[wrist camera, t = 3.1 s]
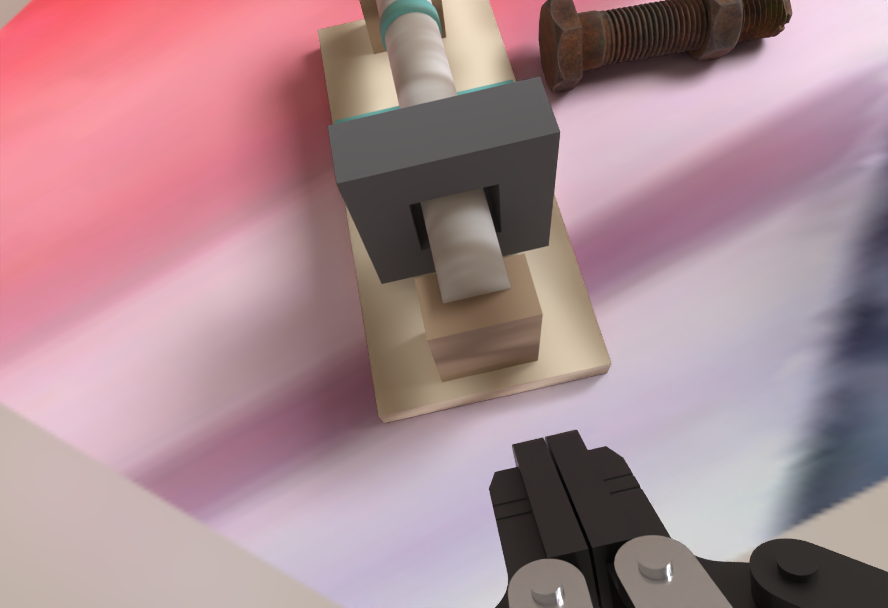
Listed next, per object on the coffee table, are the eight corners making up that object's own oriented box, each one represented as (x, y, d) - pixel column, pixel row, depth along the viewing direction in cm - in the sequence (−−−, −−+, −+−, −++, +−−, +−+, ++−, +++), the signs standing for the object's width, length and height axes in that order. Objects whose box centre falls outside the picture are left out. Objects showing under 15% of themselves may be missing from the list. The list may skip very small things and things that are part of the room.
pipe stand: (486, 8, 44) (479, -125, 36) (607, 372, 32) (639, 300, 24) (323, 46, 44) (279, -77, 36) (384, 423, 32) (338, 368, 24)
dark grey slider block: (533, 199, 33) (539, 76, 25) (548, 245, 32) (560, 131, 24) (373, 236, 33) (327, 125, 25) (381, 284, 32) (336, 183, 24)
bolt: (762, 62, 42) (545, 99, 42) (752, -14, 41) (533, 24, 41) (814, 32, 36) (562, 75, 36) (804, -57, 36) (549, -13, 36)
